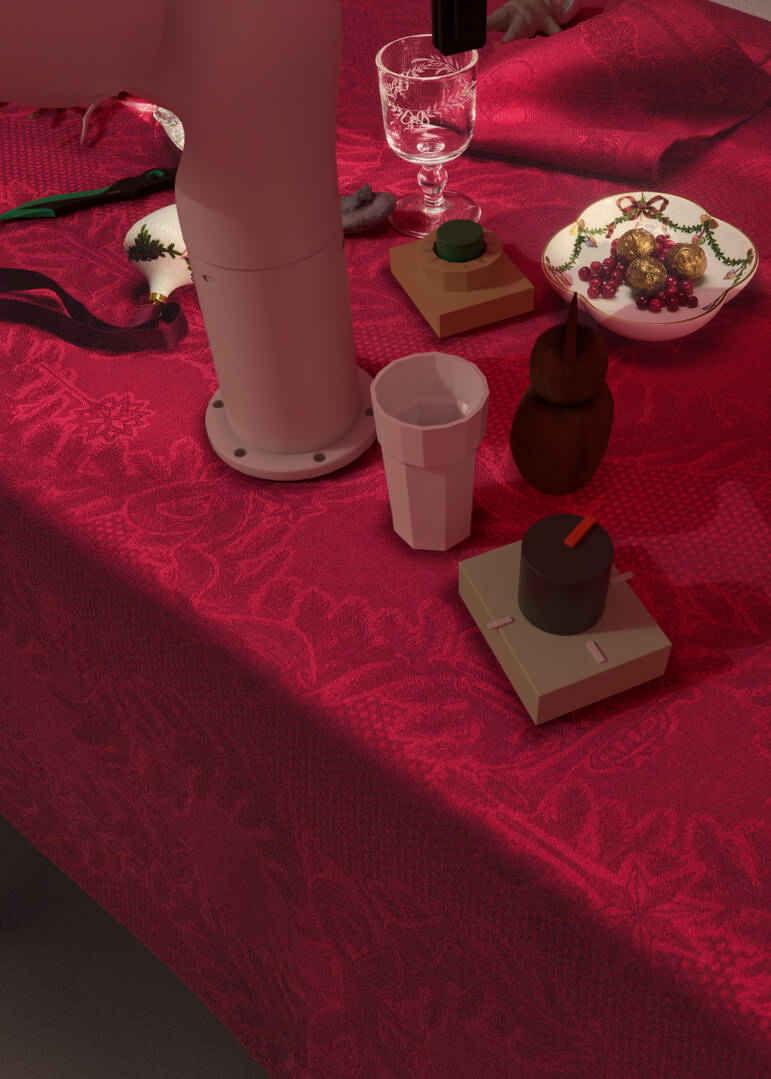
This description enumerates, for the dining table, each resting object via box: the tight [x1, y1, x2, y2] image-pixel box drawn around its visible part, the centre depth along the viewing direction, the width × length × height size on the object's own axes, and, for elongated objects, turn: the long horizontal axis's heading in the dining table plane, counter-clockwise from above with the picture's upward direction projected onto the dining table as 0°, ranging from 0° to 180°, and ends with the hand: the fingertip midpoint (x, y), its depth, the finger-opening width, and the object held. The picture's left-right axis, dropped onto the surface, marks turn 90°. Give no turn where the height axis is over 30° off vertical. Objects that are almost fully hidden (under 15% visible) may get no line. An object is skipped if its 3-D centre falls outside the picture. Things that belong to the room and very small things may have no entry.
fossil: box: [340, 184, 398, 235], centre depth 86 cm, size 8×4×5 cm
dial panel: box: [458, 539, 673, 726], centre depth 57 cm, size 10×9×3 cm
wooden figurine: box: [509, 291, 615, 496], centre depth 60 cm, size 7×6×15 cm
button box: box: [389, 227, 536, 339], centre depth 79 cm, size 10×8×4 cm
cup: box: [370, 351, 490, 552], centre depth 60 cm, size 7×7×11 cm
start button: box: [436, 218, 484, 263], centre depth 77 cm, size 4×4×2 cm
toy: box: [486, 0, 583, 51], centre depth 109 cm, size 11×5×15 cm
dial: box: [518, 513, 615, 635], centre depth 54 cm, size 5×5×5 cm
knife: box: [0, 164, 179, 222], centre depth 93 cm, size 23×1×5 cm
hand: (459, 46), depth 66 cm, fingers closed
